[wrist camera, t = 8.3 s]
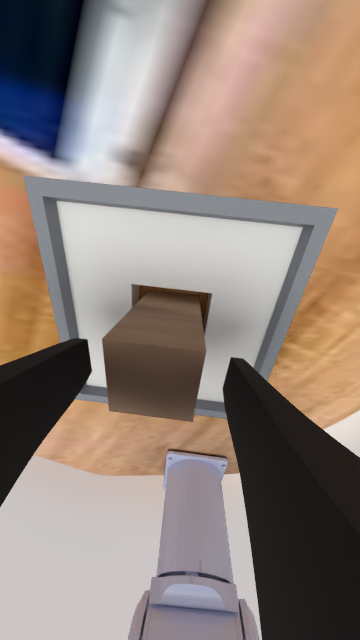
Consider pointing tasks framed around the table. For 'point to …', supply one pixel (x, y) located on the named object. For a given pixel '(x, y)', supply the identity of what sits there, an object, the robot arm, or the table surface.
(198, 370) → the peg
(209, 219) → the box
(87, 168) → the table surface
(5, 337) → the table surface
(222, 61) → the table surface
